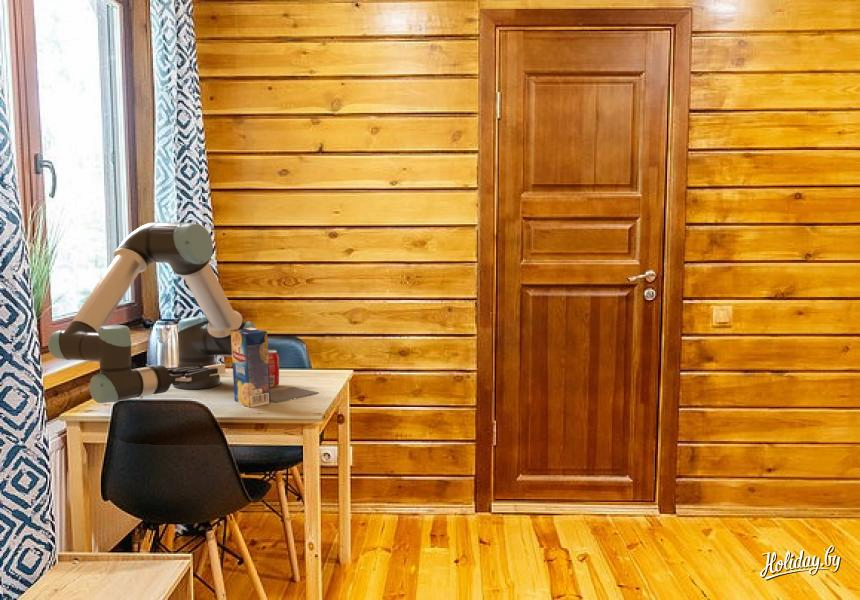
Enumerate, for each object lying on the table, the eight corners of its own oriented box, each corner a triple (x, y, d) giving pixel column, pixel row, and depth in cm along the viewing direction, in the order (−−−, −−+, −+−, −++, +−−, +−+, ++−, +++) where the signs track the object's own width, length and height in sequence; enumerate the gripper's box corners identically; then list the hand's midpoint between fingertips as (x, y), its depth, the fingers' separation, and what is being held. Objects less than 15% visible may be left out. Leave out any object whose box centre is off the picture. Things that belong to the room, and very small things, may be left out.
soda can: (270, 383, 255) (270, 348, 254) (283, 386, 250) (283, 351, 249) (253, 386, 249) (253, 351, 248) (266, 389, 245) (266, 353, 244)
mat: (251, 396, 234) (251, 396, 234) (293, 388, 248) (293, 387, 248) (276, 402, 227) (276, 401, 227) (318, 393, 241) (318, 392, 241)
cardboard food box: (255, 396, 234) (251, 327, 231) (270, 403, 225) (267, 331, 222) (234, 400, 229) (230, 330, 227) (249, 407, 221) (245, 334, 218)
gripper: (137, 391, 204) (210, 378, 222) (164, 398, 196) (238, 384, 214) (136, 363, 203) (210, 353, 221) (164, 370, 195) (237, 358, 213)
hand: (223, 368), depth 218 cm, fingers closed
